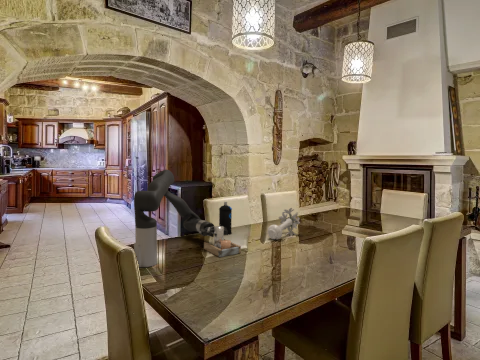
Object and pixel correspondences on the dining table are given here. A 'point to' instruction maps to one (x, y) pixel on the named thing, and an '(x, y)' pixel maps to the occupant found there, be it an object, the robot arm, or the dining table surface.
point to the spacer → (225, 244)
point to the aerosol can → (225, 217)
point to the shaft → (218, 236)
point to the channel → (225, 252)
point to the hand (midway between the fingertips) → (220, 234)
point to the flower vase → (284, 225)
